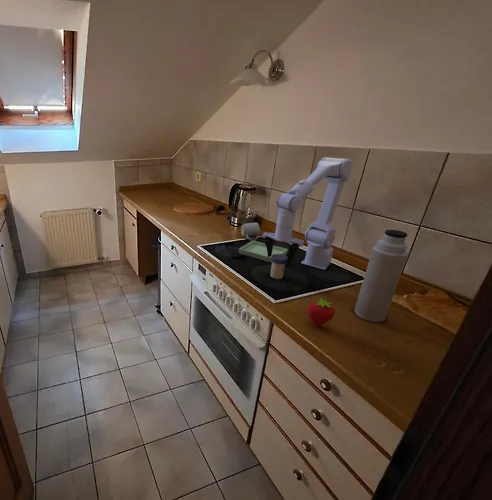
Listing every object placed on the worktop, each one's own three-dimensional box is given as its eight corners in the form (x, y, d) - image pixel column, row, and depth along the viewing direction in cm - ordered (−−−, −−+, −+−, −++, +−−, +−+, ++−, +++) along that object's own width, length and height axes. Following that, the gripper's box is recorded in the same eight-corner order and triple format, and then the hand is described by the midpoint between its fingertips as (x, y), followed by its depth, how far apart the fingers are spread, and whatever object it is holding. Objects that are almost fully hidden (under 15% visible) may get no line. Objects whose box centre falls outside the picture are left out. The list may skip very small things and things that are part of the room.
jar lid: (289, 260, 117) (290, 256, 116) (283, 265, 113) (284, 261, 112) (274, 256, 121) (275, 252, 120) (268, 261, 117) (268, 257, 116)
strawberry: (300, 320, 93) (305, 292, 89) (323, 319, 93) (330, 291, 89) (310, 332, 88) (317, 303, 84) (335, 331, 88) (343, 302, 84)
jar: (284, 276, 120) (288, 257, 116) (279, 280, 117) (283, 261, 113) (273, 272, 123) (275, 254, 120) (267, 276, 120) (270, 258, 117)
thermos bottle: (348, 307, 98) (371, 227, 87) (372, 306, 98) (398, 226, 87) (366, 322, 91) (393, 237, 80) (391, 321, 91) (422, 236, 80)
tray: (287, 253, 139) (288, 249, 138) (274, 263, 130) (275, 258, 129) (252, 244, 151) (252, 240, 150) (238, 253, 142) (238, 248, 141)
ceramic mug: (239, 234, 164) (240, 221, 161) (253, 233, 165) (255, 220, 162) (246, 241, 155) (248, 227, 152) (261, 241, 155) (263, 227, 152)
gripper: (261, 224, 114) (256, 256, 119) (301, 232, 104) (294, 267, 109) (269, 220, 118) (264, 251, 123) (308, 227, 108) (301, 261, 114)
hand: (279, 258), depth 117 cm, fingers open, 7 cm apart
